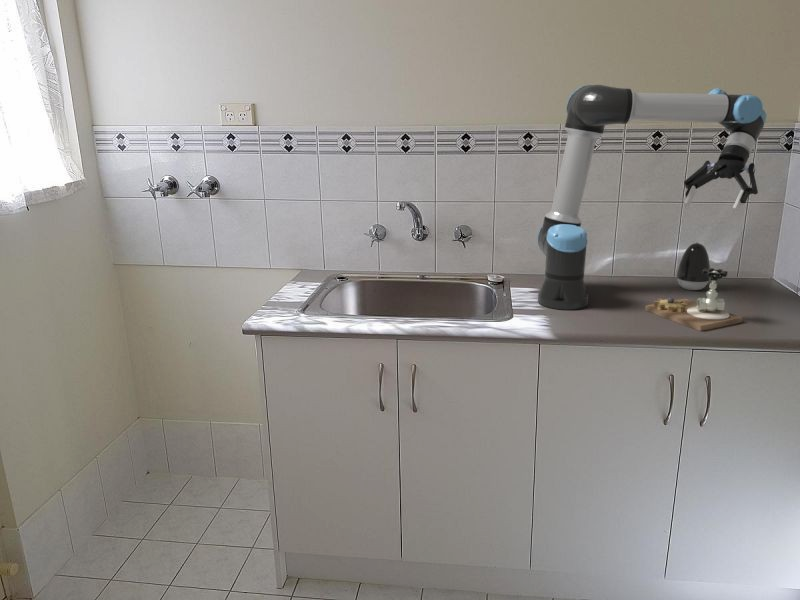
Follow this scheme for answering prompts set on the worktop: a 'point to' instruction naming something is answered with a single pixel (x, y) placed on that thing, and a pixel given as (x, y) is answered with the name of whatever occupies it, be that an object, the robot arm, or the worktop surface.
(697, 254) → the black egg-shaped capsule
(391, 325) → the worktop surface
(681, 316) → the board
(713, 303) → the valve
